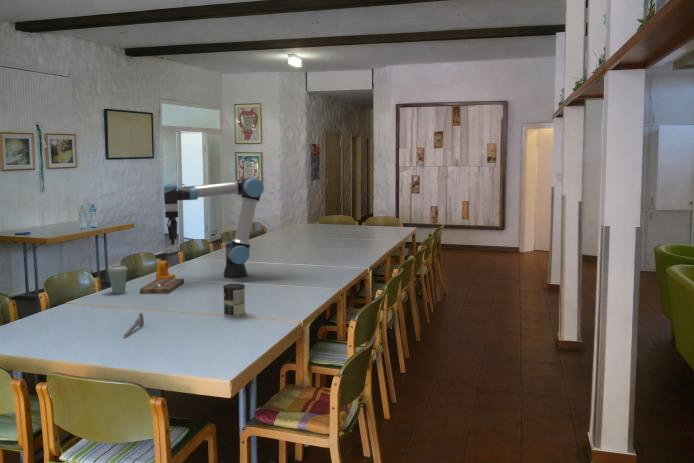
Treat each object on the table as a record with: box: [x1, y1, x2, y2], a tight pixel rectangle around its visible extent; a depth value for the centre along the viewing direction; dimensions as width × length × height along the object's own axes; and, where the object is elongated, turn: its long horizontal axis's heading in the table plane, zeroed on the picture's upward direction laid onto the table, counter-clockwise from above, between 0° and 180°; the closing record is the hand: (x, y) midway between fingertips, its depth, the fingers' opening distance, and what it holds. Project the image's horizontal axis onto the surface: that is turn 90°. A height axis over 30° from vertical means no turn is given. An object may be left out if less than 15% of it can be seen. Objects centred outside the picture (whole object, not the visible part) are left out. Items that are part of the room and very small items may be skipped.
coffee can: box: [222, 283, 246, 318], centre depth 290 cm, size 10×10×14 cm
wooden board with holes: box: [139, 278, 185, 295], centre depth 352 cm, size 16×30×2 cm, turn 179°
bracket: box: [155, 260, 176, 280], centre depth 375 cm, size 11×7×12 cm, turn 162°
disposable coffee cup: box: [107, 264, 128, 295], centre depth 339 cm, size 11×11×15 cm
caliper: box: [122, 312, 145, 339], centre depth 262 cm, size 20×1×6 cm, turn 178°
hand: (173, 249), depth 360 cm, fingers closed
